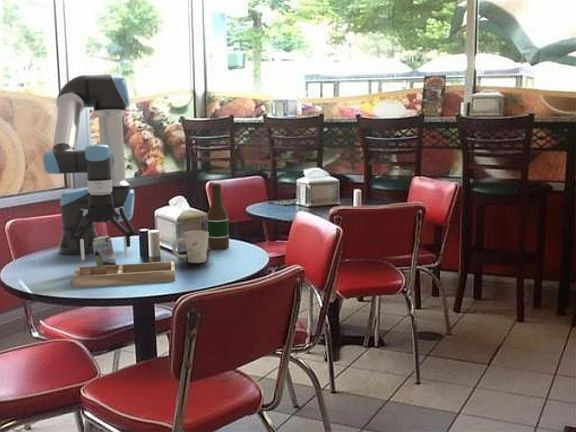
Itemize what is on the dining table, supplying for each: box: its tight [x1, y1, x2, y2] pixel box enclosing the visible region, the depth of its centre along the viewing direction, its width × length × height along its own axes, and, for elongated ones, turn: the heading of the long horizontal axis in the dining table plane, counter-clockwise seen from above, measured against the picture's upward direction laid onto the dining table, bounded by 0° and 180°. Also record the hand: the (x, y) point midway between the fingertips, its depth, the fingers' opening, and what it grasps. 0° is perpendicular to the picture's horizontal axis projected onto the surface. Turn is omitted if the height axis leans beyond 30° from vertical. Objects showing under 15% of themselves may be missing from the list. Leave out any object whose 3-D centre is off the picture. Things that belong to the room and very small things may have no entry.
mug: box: [171, 229, 209, 264], centre depth 242 cm, size 8×13×10 cm, turn 107°
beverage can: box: [92, 235, 117, 266], centre depth 230 cm, size 6×7×12 cm
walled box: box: [71, 260, 176, 288], centre depth 219 cm, size 13×30×4 cm, turn 100°
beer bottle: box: [206, 183, 230, 251], centre depth 263 cm, size 8×8×24 cm
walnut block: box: [90, 265, 107, 275], centre depth 217 cm, size 4×4×4 cm
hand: (104, 258), depth 230 cm, fingers open, 13 cm apart
